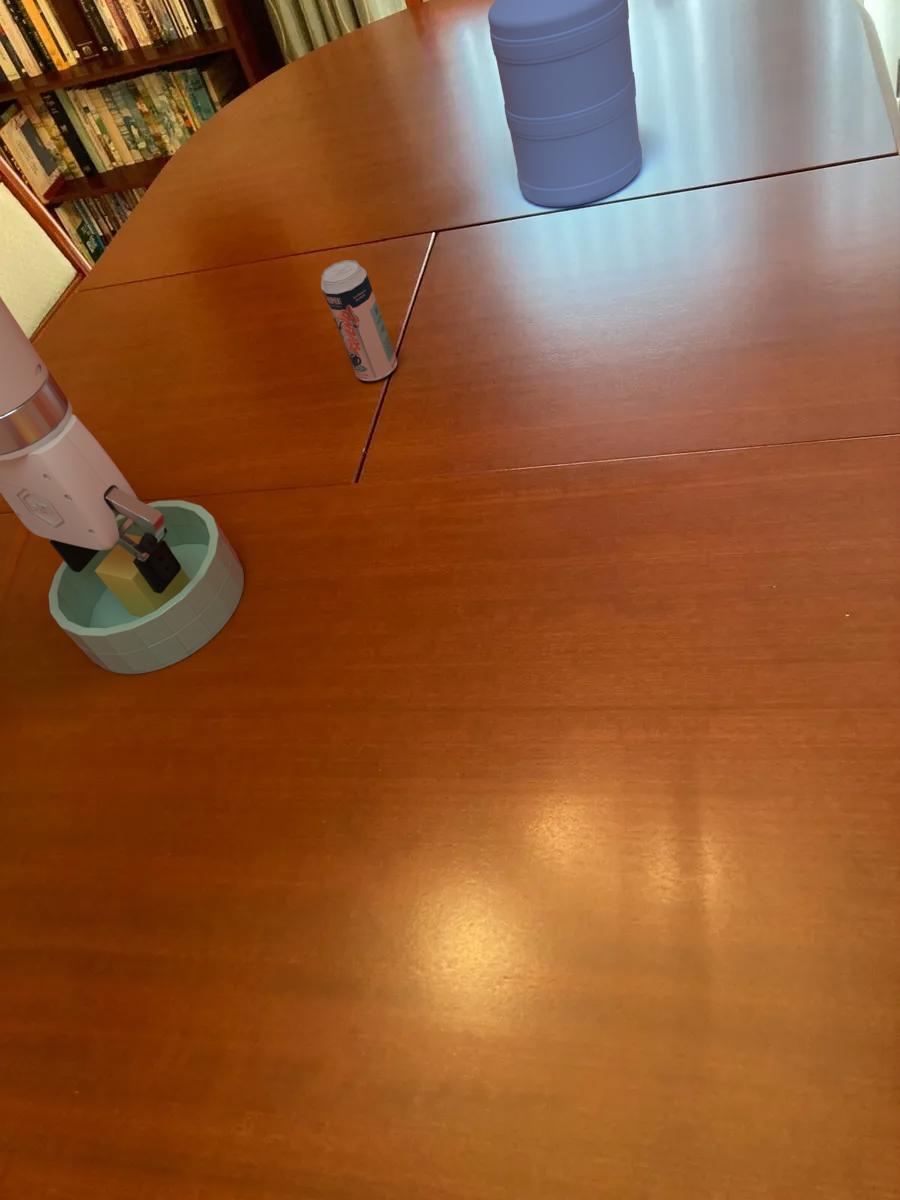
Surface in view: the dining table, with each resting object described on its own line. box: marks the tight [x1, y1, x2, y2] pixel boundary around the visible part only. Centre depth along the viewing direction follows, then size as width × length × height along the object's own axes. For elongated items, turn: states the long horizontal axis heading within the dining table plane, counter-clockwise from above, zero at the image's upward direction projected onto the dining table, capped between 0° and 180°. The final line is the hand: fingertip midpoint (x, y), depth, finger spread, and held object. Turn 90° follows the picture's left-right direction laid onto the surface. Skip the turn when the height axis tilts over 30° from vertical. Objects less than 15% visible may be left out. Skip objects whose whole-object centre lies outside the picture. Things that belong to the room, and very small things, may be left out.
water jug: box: [487, 0, 643, 208], centre depth 103 cm, size 16×16×28 cm
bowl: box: [48, 499, 245, 675], centre depth 78 cm, size 16×16×6 cm
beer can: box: [320, 259, 398, 382], centre depth 92 cm, size 5×5×12 cm
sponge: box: [95, 534, 191, 617], centre depth 78 cm, size 4×4×6 cm
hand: (127, 570), depth 77 cm, fingers open, 9 cm apart
